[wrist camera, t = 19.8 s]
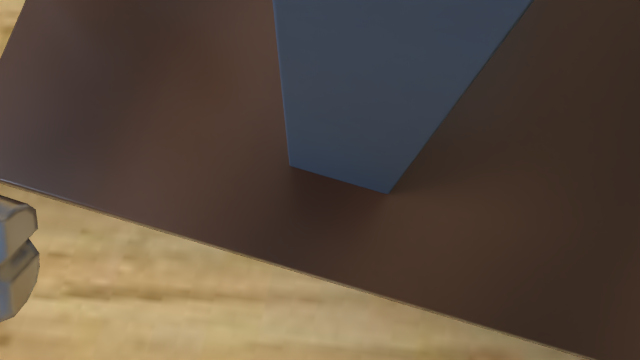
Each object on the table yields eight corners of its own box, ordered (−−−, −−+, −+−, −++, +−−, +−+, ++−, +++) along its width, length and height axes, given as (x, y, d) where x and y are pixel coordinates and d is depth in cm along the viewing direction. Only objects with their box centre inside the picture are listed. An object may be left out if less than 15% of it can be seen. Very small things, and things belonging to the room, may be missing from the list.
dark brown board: (-27, 175, 19) (-49, 167, 18) (138, -211, 22) (129, -240, 21) (661, 381, 18) (686, 386, 17) (732, -48, 21) (757, -69, 20)
